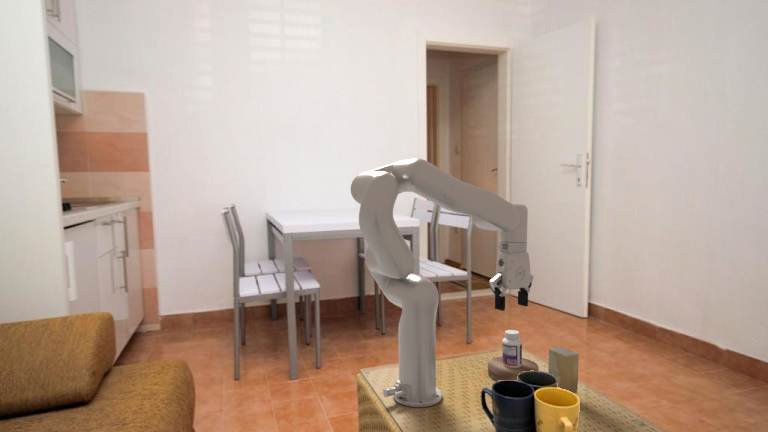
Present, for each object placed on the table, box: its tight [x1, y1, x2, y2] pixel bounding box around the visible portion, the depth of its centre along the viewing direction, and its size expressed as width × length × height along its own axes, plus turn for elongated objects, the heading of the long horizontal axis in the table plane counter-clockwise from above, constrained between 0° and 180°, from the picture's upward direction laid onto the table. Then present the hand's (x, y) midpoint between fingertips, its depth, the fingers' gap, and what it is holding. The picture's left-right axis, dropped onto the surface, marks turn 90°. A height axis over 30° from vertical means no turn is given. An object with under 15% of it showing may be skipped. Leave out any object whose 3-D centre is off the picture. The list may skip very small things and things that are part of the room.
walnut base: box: [487, 355, 540, 382], centre depth 134 cm, size 14×14×3 cm
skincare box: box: [547, 346, 580, 395], centre depth 119 cm, size 6×4×12 cm
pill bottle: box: [501, 329, 523, 368], centre depth 134 cm, size 5×5×10 cm
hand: (511, 307), depth 133 cm, fingers open, 9 cm apart
